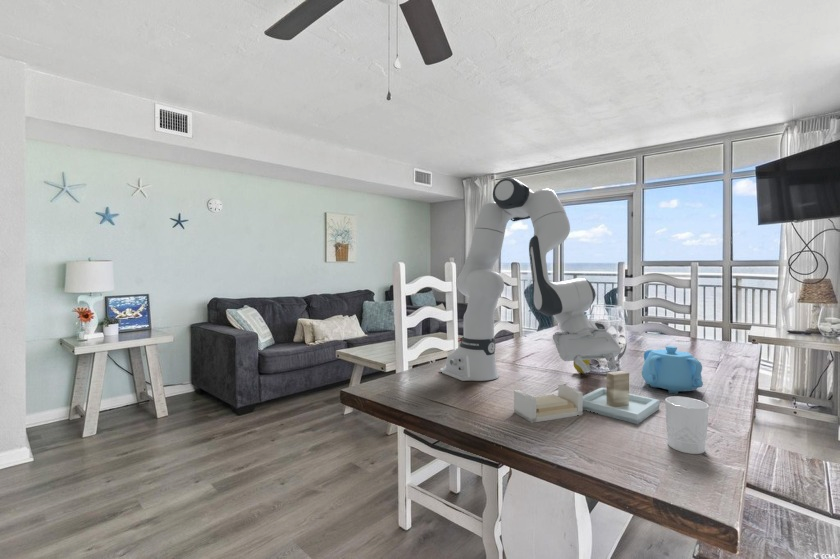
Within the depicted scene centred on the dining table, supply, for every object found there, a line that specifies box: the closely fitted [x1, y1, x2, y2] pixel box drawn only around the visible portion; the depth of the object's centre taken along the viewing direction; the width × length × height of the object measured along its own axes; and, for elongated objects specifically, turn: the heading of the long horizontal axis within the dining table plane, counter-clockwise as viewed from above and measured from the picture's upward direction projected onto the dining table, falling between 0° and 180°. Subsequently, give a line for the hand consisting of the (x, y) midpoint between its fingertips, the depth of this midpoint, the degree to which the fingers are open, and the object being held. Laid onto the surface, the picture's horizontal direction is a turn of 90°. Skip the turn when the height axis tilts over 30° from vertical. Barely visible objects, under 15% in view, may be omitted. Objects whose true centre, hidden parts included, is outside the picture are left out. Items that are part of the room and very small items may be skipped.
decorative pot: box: [641, 345, 704, 394], centre depth 130 cm, size 16×16×14 cm
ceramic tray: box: [582, 386, 660, 425], centre depth 112 cm, size 16×16×2 cm
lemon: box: [573, 360, 591, 374], centre depth 148 cm, size 6×6×8 cm
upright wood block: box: [606, 370, 630, 407], centre depth 111 cm, size 2×6×9 cm, turn 110°
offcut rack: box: [513, 384, 584, 424], centre depth 108 cm, size 8×16×6 cm, turn 109°
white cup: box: [664, 395, 710, 455], centre depth 87 cm, size 8×8×10 cm
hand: (601, 370), depth 116 cm, fingers open, 8 cm apart
